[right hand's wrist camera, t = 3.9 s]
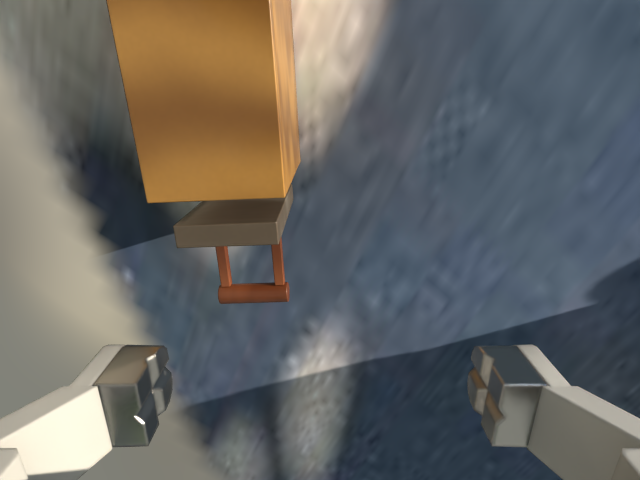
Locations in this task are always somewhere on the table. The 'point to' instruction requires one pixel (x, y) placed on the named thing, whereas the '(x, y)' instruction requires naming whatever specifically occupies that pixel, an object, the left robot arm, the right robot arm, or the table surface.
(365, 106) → the table surface
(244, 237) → the drawer
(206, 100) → the cabinet
